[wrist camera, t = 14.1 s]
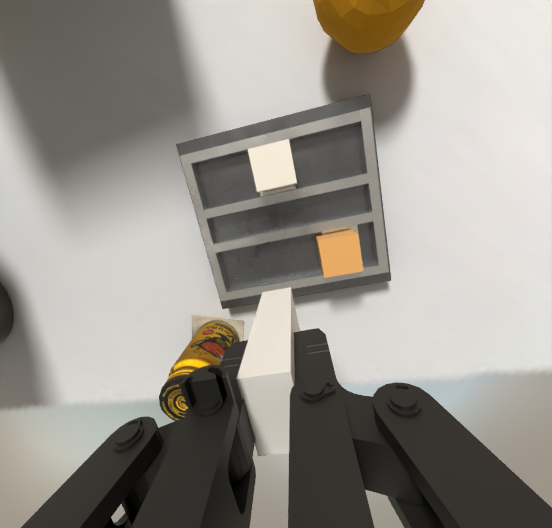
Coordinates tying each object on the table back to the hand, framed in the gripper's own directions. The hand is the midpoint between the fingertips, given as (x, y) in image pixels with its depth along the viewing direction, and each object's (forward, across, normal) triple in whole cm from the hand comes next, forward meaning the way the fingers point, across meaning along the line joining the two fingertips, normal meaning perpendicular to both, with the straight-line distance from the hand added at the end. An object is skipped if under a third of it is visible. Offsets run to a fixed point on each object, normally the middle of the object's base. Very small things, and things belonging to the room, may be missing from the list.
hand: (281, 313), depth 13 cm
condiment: (+20, -13, -12) cm, 27 cm away
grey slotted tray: (+20, +1, +4) cm, 20 cm away
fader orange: (+17, +5, -1) cm, 18 cm away
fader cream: (+17, 0, +9) cm, 20 cm away
